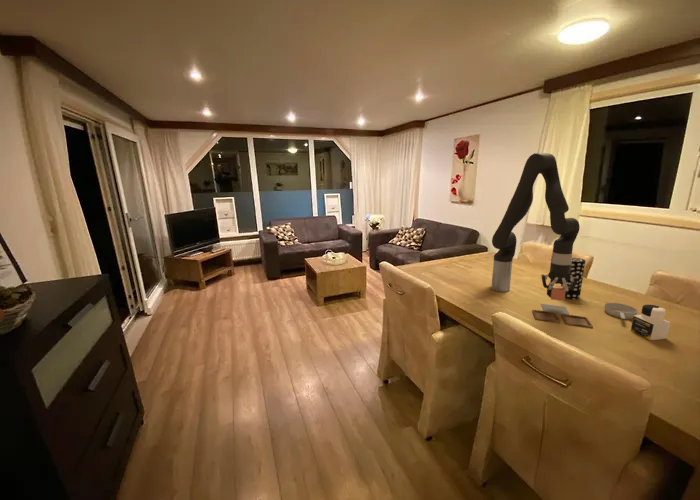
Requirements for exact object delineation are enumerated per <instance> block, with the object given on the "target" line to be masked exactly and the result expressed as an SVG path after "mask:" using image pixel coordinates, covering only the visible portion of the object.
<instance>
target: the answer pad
mask: <svg viewBox="0 0 700 500" xmlns="http://www.w3.org/2000/svg"><path fill="white" fill-rule="evenodd" d="M540 307H541V309H542V311H548V312H555V313H556V314H557V315H561V314H567V315H571V314H570V312H569V311H568V310H567V308H566V306H563V305H555V304H547V303H546V304H545V303H540Z"/></svg>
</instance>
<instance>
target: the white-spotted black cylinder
mask: <svg viewBox="0 0 700 500" xmlns="http://www.w3.org/2000/svg"><path fill="white" fill-rule="evenodd" d="M585 266H586V260H585V259H583V258H579V257H572V263H571V270H570V276H572V277H576V278H577V279H578V281H577V283H576V285H575V288H574V290H569V291H568V295H567V298H566V297H565V299H567V300H571V301H572V300H573V301H575V300H577V301H578V300H579V299H580V298H581V292H582V286H583V280H584V272H585ZM571 282H572V281H571V279H569V280H568V281H567V282H566V283H567V287H569V286H570V284H571ZM560 287H563V284H560Z"/></svg>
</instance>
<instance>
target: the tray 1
mask: <svg viewBox="0 0 700 500" xmlns="http://www.w3.org/2000/svg"><path fill="white" fill-rule="evenodd" d="M531 312H532V315H533V317H534V320H535V321H542V322H547V323H548V322H549V323H557V324H561V320H560V319H559V316H558V314H556V313H555V312H548V311H543V310H540V309H532V311H531Z"/></svg>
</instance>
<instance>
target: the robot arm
mask: <svg viewBox="0 0 700 500" xmlns="http://www.w3.org/2000/svg"><path fill="white" fill-rule="evenodd" d="M539 174H540V175H541V176H542V177H543V181H544V183H545V190H544V191H545V192H544V193H545V194H544V199H545V204H546V206H547V208H548V211H549V221H550V228H551V231H553V233H554V234H556V235H558V236H559V237H558V238H557V239H555V240H554V242H553V246H552V254H551V257H550V265H549V266H550V268H549V272H548V273H547V274H544V273H543V274H541V275H540V277H541V281H542V286H543V288H544V289H546V295H547V296H548V298H550V297H551V288H552V287H553V286H555V285H557V284H559V285H561V284H563V287H564V289H565V290H566V291H565V297H566V298H567V295H568V291H569V290H574V288H575V285H576V283H577V281H578V279H577V278H576V277H572V276H570V270H571V263H572V258H573V251H574V250H573V248H574V243H575V241H576V239H577V238H578V234H579V232H580V222H579V220H578V219H576V217H566V213H567V212H569V210H570V209H569V204H568V202H567V199H566V198H565V197H566V196H565V195H564V192H563V189H562V185H561V180H560V174H559V168H558V164H557V160H556V157H555V156H554V154H552V153H550V152H549V153H548V152H534V153H532V154H531V155H529V156H528V158H527V159H526V161H525V163H524V167H523V170H522V173H521V175H520V179H519V181H518V183H517V186H516V189H515V190H514V194H513V195H512V197H511V199H510V201H509V203H508V207H507V208H506V211H505V213H504V215H503V217H502V219H501V222H500V224H499V225H498V227H497V229H496V230H495V232H494V233H493V235H492V238H491V244H492V246H493V248H495V249H496V250H497V252H496V253H494V255H493V265H492V274H491V291H492V290H493V291H496V292H501V293H502V292H505V293H506V292H509V291H511V280H512V272H513V271H512V269H513V261H514V260H513V259H514V256H515V254H516V250H517V249H516V248H517V236H516V234H515V232H513V230H514V228H515V227H516V226H517V225H518V224H519V223H520V222H521V221H522V220H523V219H524V218H525V216H526V215H527V214H528V212H529V210H530V208H531V206H532V204H533V200H534V190H533V189H534V185H535V182H536V180H537V178H538V176H539ZM548 278H549V282H548V284H547V280H548ZM569 279H571V281H572V282H571V284H570V286H569V287H567V283H566V282H567V281H568V280H569ZM566 298H565V299H566Z"/></svg>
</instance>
